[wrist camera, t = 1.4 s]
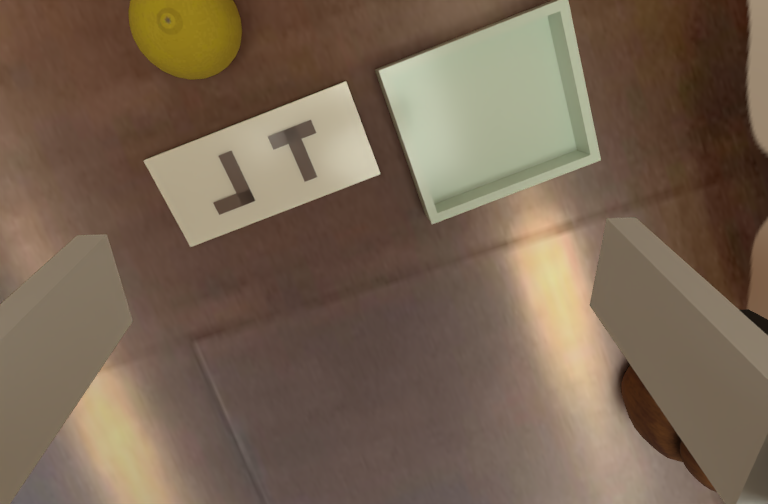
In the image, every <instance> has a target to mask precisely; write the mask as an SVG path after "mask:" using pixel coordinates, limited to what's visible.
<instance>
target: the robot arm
mask: <svg viewBox="0 0 768 504" xmlns="http://www.w3.org/2000/svg"><path fill="white" fill-rule="evenodd" d="M590 306H591V308H592V309H593V311H594V312H595V314H596V315H597V317H598V318H599V320H600V321H601V323H602V324H603V326H604V327H605V328H606V330H607V331H608V333H609V334H610V336H611V337H612V339H613V340H614V342H615V343H616V345H617V346H618V348H619V349H620V350H621V352H622V353H623V355H624V356H625V358H626V359H627V361H628V362H629V364H630V365H631V367H632V368H633V370H634V371H635V372H636V374H637V375H638V377H639V378H640V380H641V381H642V383H643V384H644V386H645V387H646V389H647V390H648V391H649V393H650V394H651V396H652V397H653V399H654V400H655V402H656V403H657V405H658V406H659V408H660V409H661V411H662V412H663V413H664V415H665V416H666V418H667V419H668V421H669V422H670V424H671V425H672V427H673V428H674V430H675V431H676V433H677V434H678V435H679V437H680V438H681V440H682V441H683V443H684V444H685V446H686V447H687V449H688V450H689V452H690V453H691V455H692V456H693V457H694V459H695V460H696V462H697V463H698V465H699V466H700V468H701V469H702V471H703V472H704V474H705V475H706V476H707V478H708V479H709V481H710V482H711V484H712V485H713V487H714V488H715V490H716V491H717V493H718V494H719V496H720V497H721V498H722V500H723V501H724V503H725V504H768V320H767V319H765V318H764V317H762V316H760V315H758V314H756V313H754V312H752V311H750V310H739V309H737V308H736V307H735V306H734V305H733V304H732V303H731V302H730V301H728V300H727V299H726V298H725V297H724V296H723V295H722V294H721V293H719V292H718V291H717V290H716V289H715V288H714V287H713V286H712V285H711V284H709V283H708V282H707V281H706V280H705V279H704V278H703V277H702V276H700V275H699V274H698V273H697V272H696V271H695V270H694V269H693V268H691V267H690V266H689V265H688V264H687V263H686V262H685V261H684V260H682V259H681V258H680V257H679V256H678V255H677V254H676V253H675V252H674V251H672V250H671V249H670V248H669V247H668V246H667V245H666V244H665V243H663V242H662V241H661V240H660V239H659V238H658V237H657V236H656V235H654V234H653V233H652V232H651V231H650V230H649V229H648V228H647V227H646V226H644V225H643V224H642V223H641V222H640V221H639V220H638V219H637V218H635V217H633V218H607V220H606V225H605V230H604V235H603V240H602V245H601V250H600V255H599V261H598V266H597V271H596V276H595V281H594V286H593V291H592V296H591V301H590ZM132 322H133V320H132V317H131V314H130V310H129V307H128V304H127V300H126V297H125V294H124V290H123V287H122V283H121V280H120V277H119V273H118V270H117V267H116V263H115V260H114V257H113V253H112V250H111V246H110V243H109V240H108V236H107V234H101V235H77V236H76V237H75V238H74V239H72V240H71V241H70V242H69V243H68V244H67V245H66V246H65V247H64V248H62V249H61V250H60V251H59V252H58V253H57V254H56V255H55V256H54V257H52V258H51V259H50V260H49V261H48V262H47V263H46V264H45V265H44V266H42V267H41V268H40V269H39V270H38V271H37V272H36V273H35V274H33V275H32V276H31V277H30V278H29V279H28V280H27V281H26V282H25V283H23V284H22V285H21V286H20V287H19V288H18V289H17V290H16V291H15V292H13V293H12V294H11V295H10V296H9V297H8V298H7V299H6V300H5V301H3V302H2V303H1V304H0V504H10V503H11V501H12V500H13V498H14V497H15V496H16V494H17V493H18V491H19V490H20V488H21V487H22V485H23V484H24V482H25V481H26V479H27V478H28V476H29V475H30V473H31V472H32V470H33V469H34V467H35V466H36V464H37V463H38V461H39V460H40V458H41V457H42V455H43V454H44V452H45V451H46V450H47V448H48V447H49V445H50V444H51V442H52V441H53V439H54V438H55V436H56V435H57V433H58V432H59V430H60V429H61V427H62V426H63V424H64V423H65V421H66V420H67V418H68V417H69V415H70V414H71V412H72V411H73V409H74V408H75V406H76V405H77V403H78V402H79V401H80V399H81V398H82V396H83V395H84V393H85V392H86V390H87V389H88V387H89V386H90V384H91V383H92V381H93V380H94V378H95V377H96V375H97V374H98V372H99V371H100V369H101V368H102V366H103V365H104V363H105V362H106V360H107V359H108V357H109V356H110V354H111V353H112V352H113V350H114V349H115V347H116V346H117V344H118V343H119V341H120V340H121V338H122V337H123V335H124V334H125V332H126V331H127V329H128V328H129V326H130V325H131V323H132Z"/></svg>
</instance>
